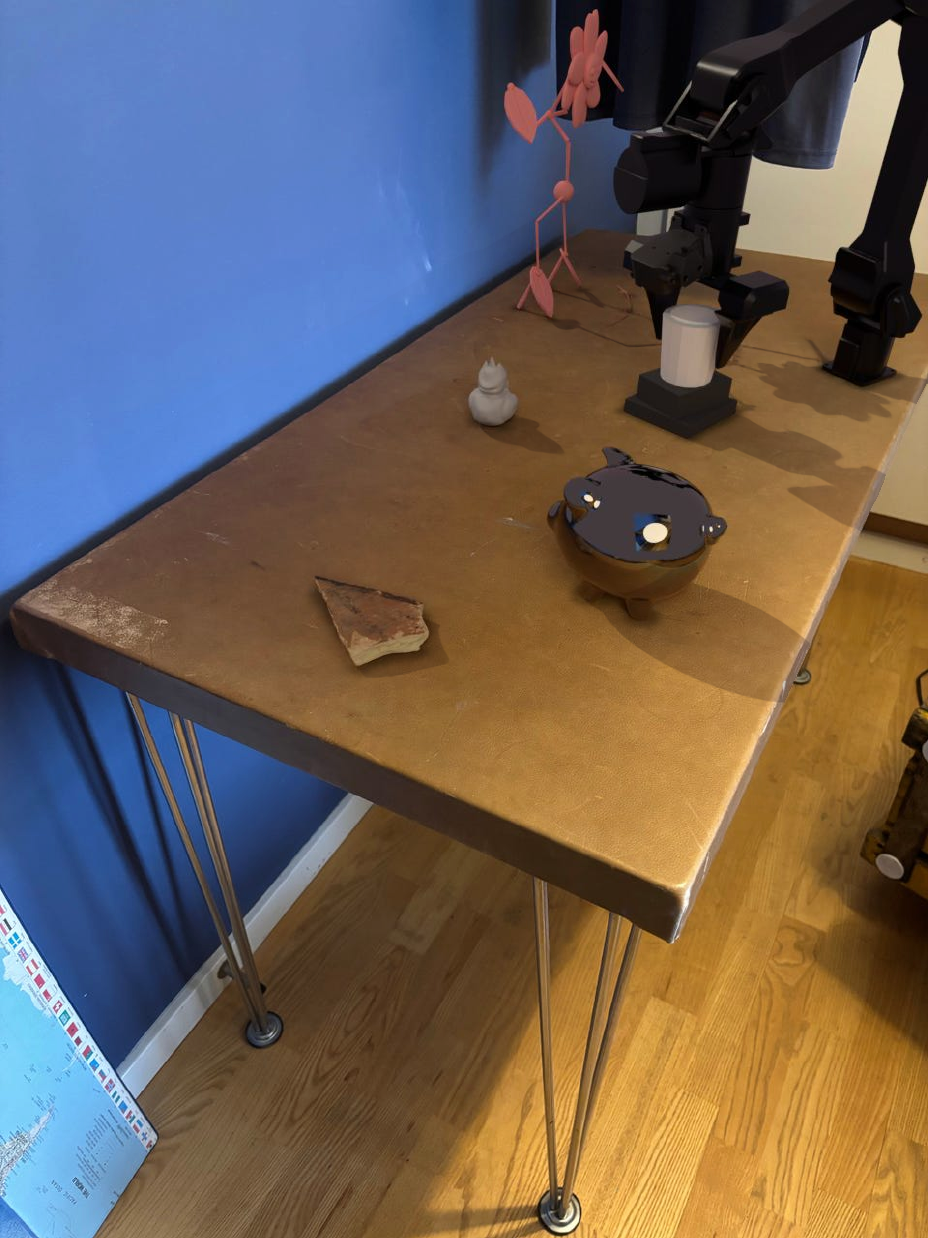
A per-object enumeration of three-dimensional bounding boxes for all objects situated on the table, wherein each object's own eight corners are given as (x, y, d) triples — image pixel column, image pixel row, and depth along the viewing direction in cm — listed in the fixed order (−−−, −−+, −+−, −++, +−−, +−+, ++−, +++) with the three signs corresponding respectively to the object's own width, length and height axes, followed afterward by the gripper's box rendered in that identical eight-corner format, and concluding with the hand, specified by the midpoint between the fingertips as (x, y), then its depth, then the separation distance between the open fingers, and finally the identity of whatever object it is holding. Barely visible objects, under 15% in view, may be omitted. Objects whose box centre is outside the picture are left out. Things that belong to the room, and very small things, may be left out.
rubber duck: (460, 428, 101) (459, 359, 96) (481, 403, 106) (482, 336, 101) (505, 437, 100) (508, 368, 95) (525, 411, 104) (528, 344, 99)
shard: (315, 589, 79) (313, 572, 78) (400, 570, 81) (399, 554, 80) (349, 669, 71) (347, 651, 70) (441, 646, 73) (441, 628, 72)
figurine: (484, 327, 123) (489, 20, 101) (562, 270, 141) (581, -3, 118) (589, 349, 118) (618, 29, 95) (657, 287, 135) (695, 4, 113)
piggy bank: (575, 532, 86) (585, 421, 78) (729, 583, 79) (756, 468, 72) (516, 594, 78) (521, 478, 71) (681, 656, 72) (705, 536, 65)
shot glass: (717, 392, 98) (729, 329, 94) (653, 386, 99) (662, 324, 95) (717, 365, 104) (728, 304, 99) (656, 360, 105) (664, 300, 100)
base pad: (671, 387, 109) (673, 375, 108) (735, 413, 104) (738, 400, 103) (623, 411, 105) (625, 398, 103) (687, 439, 99) (689, 425, 98)
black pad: (687, 380, 107) (691, 357, 105) (727, 401, 103) (732, 378, 101) (635, 397, 104) (638, 374, 102) (675, 419, 100) (679, 395, 98)
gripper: (590, 191, 93) (578, 340, 102) (723, 240, 80) (694, 403, 90) (672, 176, 97) (652, 319, 107) (809, 220, 85) (773, 377, 95)
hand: (689, 352), depth 100 cm, fingers open, 9 cm apart
